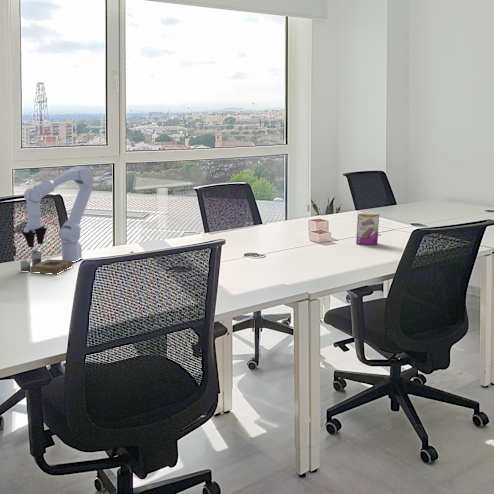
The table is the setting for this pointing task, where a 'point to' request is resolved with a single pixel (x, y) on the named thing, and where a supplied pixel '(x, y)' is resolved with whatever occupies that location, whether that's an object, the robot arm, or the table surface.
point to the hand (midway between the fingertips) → (35, 245)
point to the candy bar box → (367, 228)
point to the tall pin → (36, 256)
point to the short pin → (25, 265)
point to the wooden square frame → (51, 266)
